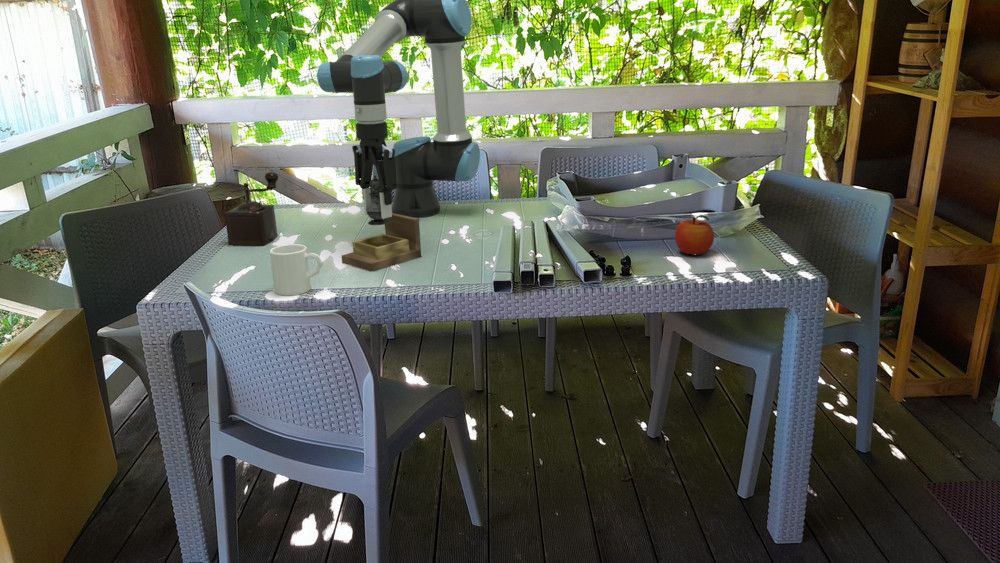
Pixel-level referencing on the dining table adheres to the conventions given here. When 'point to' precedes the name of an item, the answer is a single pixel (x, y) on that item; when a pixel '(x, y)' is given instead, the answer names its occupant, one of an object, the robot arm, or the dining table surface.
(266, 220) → the manual coffee grinder
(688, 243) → the fruit
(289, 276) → the mug
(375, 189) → the salt shaker
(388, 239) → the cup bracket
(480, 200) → the dining table surface
